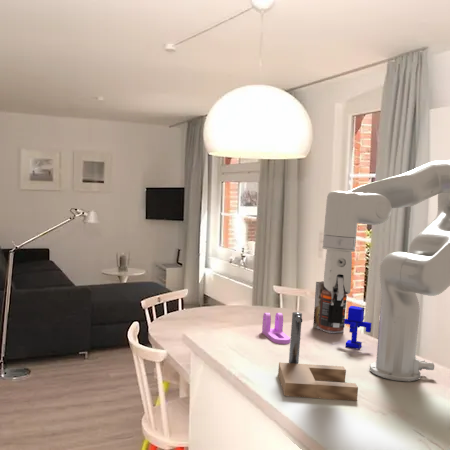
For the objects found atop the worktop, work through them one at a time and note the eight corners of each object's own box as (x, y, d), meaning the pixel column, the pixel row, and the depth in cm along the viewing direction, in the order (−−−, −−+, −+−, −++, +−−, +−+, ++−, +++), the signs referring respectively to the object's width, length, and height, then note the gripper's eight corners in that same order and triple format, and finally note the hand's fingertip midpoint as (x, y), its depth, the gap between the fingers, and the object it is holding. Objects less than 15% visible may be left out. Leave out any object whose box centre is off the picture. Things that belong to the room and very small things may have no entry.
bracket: (261, 332, 166) (263, 311, 166) (278, 332, 168) (279, 311, 167) (275, 344, 154) (276, 321, 153) (292, 344, 155) (294, 321, 155)
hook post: (299, 369, 132) (304, 311, 131) (303, 378, 125) (308, 317, 124) (284, 368, 132) (288, 310, 131) (287, 377, 125) (291, 316, 124)
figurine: (349, 350, 152) (352, 310, 151) (336, 343, 159) (338, 305, 158) (371, 349, 154) (374, 310, 154) (357, 342, 161) (359, 304, 161)
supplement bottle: (343, 333, 118) (348, 285, 118) (317, 330, 120) (321, 282, 119) (343, 328, 124) (348, 281, 124) (318, 324, 125) (323, 278, 125)
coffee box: (344, 332, 173) (348, 285, 172) (329, 334, 170) (333, 285, 169) (326, 325, 181) (329, 280, 180) (312, 327, 178) (315, 280, 177)
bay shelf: (342, 378, 127) (343, 366, 127) (357, 400, 113) (358, 387, 113) (278, 374, 127) (279, 362, 127) (284, 396, 113) (285, 382, 113)
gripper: (363, 248, 112) (355, 329, 113) (347, 242, 129) (341, 313, 130) (329, 245, 112) (321, 326, 113) (317, 239, 130) (311, 310, 130)
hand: (332, 318), depth 122 cm, fingers closed on supplement bottle, 6 cm apart
